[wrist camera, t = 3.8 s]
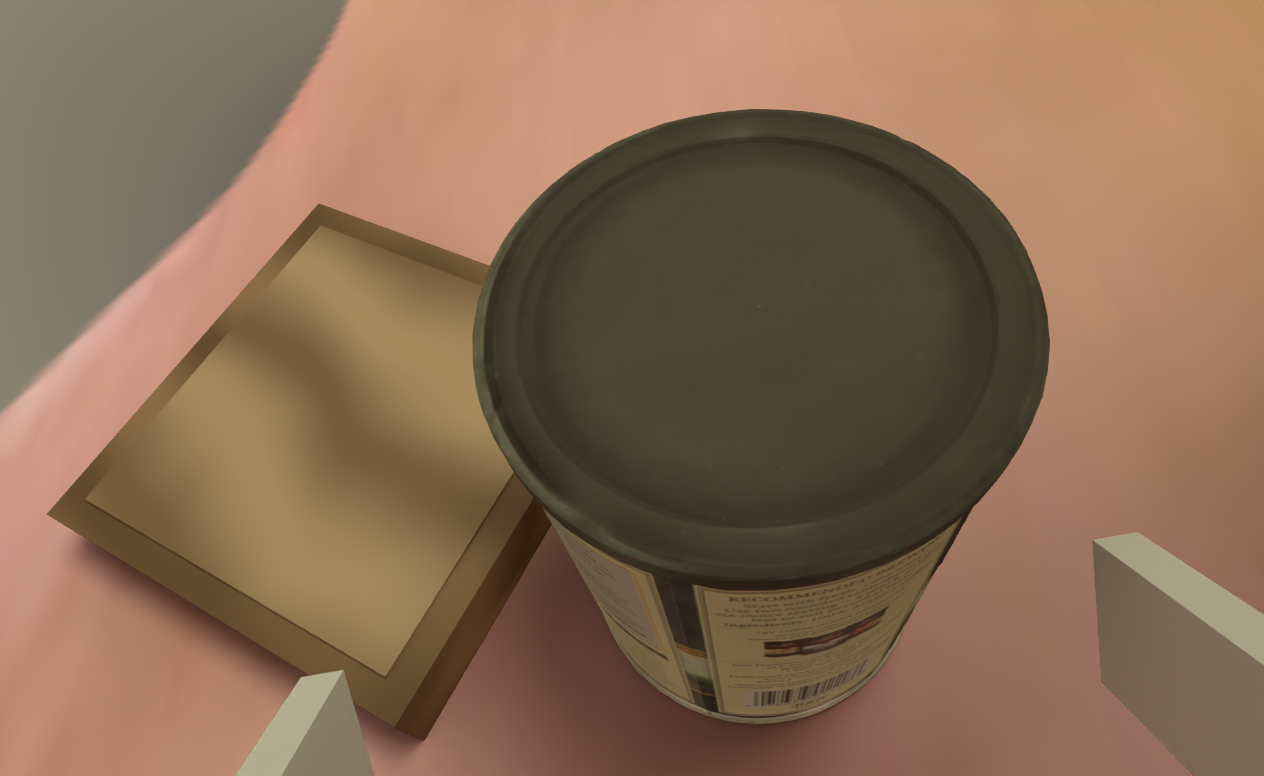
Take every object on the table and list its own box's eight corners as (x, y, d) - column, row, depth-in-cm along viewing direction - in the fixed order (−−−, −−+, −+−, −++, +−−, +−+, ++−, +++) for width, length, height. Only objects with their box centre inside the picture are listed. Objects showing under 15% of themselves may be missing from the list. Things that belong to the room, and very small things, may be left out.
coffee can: (750, 367, 31) (750, 37, 19) (982, 567, 26) (1182, 298, 14) (530, 549, 28) (367, 302, 16) (744, 807, 24) (740, 730, 11)
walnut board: (344, 243, 36) (317, 201, 34) (648, 359, 31) (640, 318, 29) (96, 540, 30) (43, 512, 28) (423, 740, 25) (392, 726, 23)
